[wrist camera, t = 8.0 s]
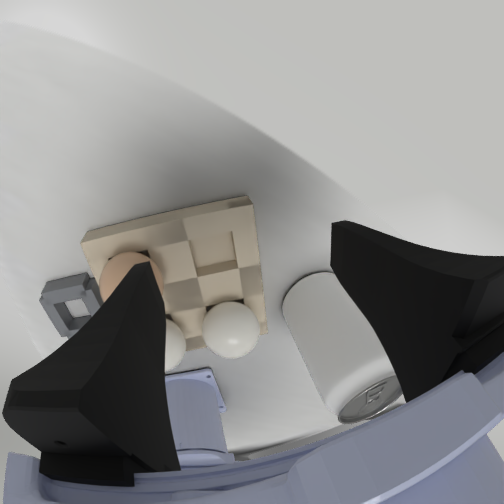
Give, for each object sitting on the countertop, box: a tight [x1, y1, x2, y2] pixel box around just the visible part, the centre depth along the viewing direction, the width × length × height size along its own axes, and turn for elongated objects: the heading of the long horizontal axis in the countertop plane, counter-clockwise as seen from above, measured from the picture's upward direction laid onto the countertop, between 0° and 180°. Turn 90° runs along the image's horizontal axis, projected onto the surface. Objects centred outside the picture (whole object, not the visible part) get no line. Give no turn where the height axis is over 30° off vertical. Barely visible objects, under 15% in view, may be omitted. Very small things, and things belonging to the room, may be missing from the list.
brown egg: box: [99, 252, 164, 302], centre depth 18 cm, size 4×4×4 cm
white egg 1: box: [165, 318, 186, 372], centre depth 21 cm, size 4×4×4 cm
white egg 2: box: [202, 301, 260, 359], centre depth 22 cm, size 4×4×4 cm
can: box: [282, 272, 403, 424], centre depth 22 cm, size 6×6×12 cm
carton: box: [80, 196, 268, 351], centre depth 22 cm, size 12×12×2 cm
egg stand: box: [39, 273, 104, 339], centre depth 21 cm, size 5×5×2 cm
